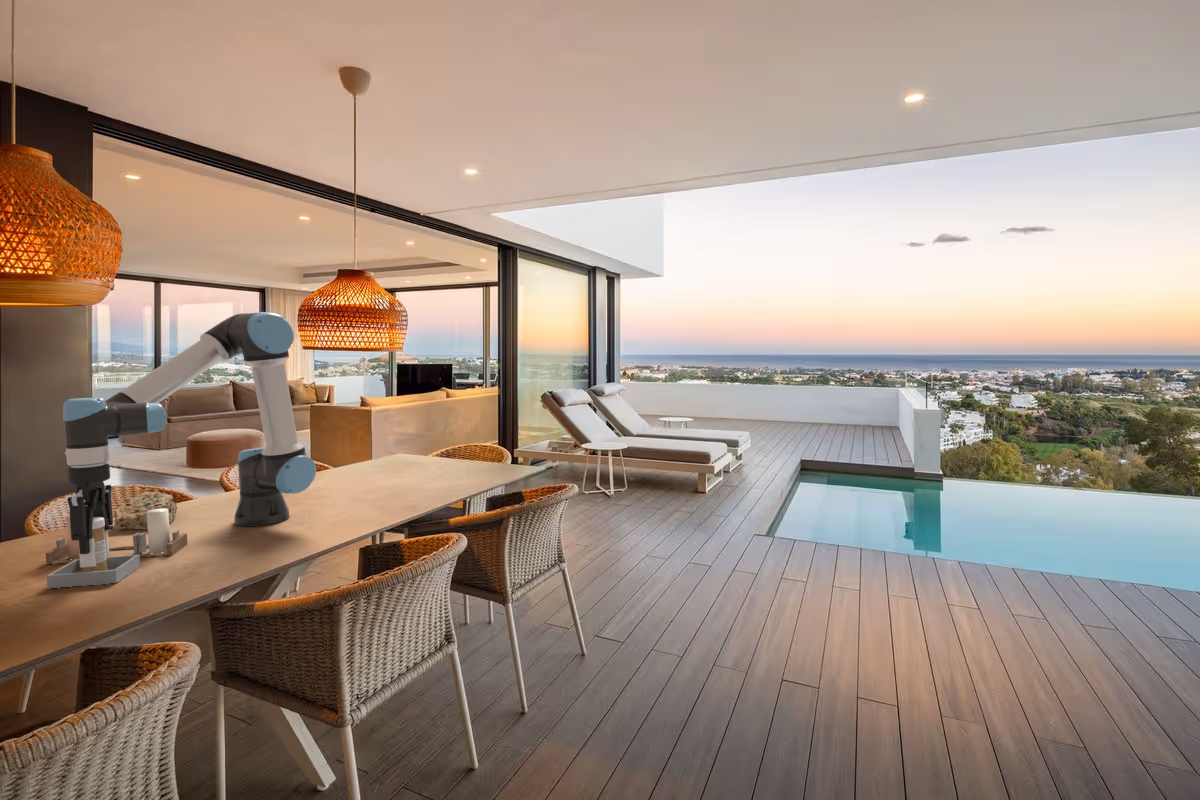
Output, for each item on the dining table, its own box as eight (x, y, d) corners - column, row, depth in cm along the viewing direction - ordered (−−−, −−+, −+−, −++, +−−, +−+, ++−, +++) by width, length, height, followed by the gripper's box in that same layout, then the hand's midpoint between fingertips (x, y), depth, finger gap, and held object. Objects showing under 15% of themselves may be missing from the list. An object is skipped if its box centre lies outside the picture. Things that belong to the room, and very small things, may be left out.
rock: (174, 530, 182) (162, 501, 179) (117, 548, 177) (104, 517, 174) (185, 507, 200) (174, 480, 197) (133, 523, 195) (121, 495, 192)
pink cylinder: (95, 553, 159) (92, 512, 158) (85, 559, 154) (83, 517, 153) (74, 554, 157) (71, 513, 157) (64, 560, 153) (61, 518, 152)
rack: (187, 543, 166) (186, 526, 166) (172, 555, 157) (171, 536, 157) (69, 552, 159) (68, 533, 159) (46, 564, 150) (44, 545, 150)
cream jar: (173, 547, 163) (171, 507, 162) (166, 553, 159) (163, 512, 158) (153, 549, 162) (151, 509, 161) (145, 554, 158) (143, 513, 157)
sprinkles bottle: (81, 575, 141) (76, 519, 140) (105, 569, 145) (101, 515, 143) (85, 580, 138) (81, 523, 137) (110, 574, 142) (106, 519, 140)
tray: (140, 566, 149) (139, 554, 148) (116, 583, 138) (115, 570, 138) (76, 571, 145) (75, 559, 145) (47, 589, 135) (46, 575, 134)
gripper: (91, 458, 147) (97, 551, 149) (44, 473, 130) (52, 577, 132) (127, 457, 149) (133, 548, 151) (85, 471, 132) (92, 574, 134)
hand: (95, 561), depth 141 cm, fingers open, 5 cm apart
